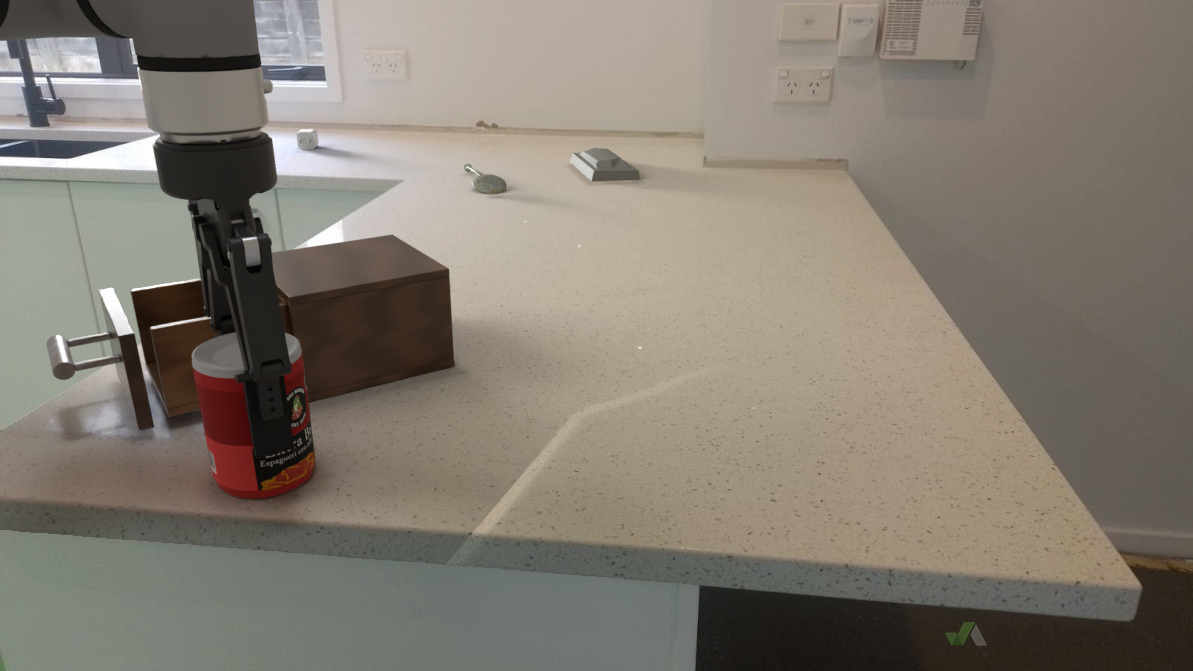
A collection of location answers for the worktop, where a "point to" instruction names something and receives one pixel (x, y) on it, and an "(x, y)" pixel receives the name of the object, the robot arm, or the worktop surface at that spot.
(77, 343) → the drawer
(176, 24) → the robot arm
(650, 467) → the worktop surface
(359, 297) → the cabinet
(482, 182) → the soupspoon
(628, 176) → the grey flat stepped block
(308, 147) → the usb wall charger
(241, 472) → the canned food
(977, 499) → the worktop surface
